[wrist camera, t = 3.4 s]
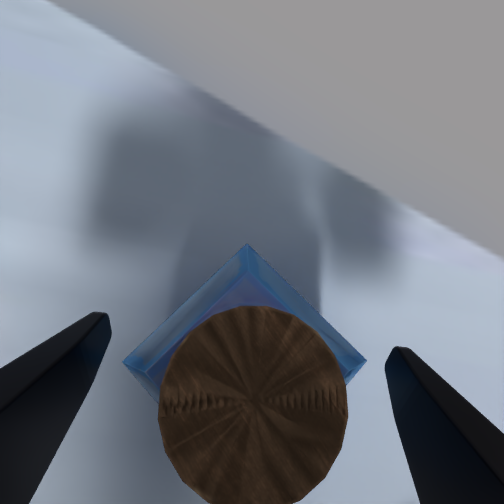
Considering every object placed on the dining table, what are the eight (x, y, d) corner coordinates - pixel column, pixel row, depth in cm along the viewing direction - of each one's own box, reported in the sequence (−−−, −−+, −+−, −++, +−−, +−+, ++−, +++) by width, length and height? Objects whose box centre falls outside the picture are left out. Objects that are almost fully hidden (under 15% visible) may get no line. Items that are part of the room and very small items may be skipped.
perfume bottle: (321, 348, 17) (508, 399, 5) (243, 436, 15) (255, 770, 4) (244, 271, 18) (253, 165, 6) (165, 348, 16) (-19, 404, 5)
